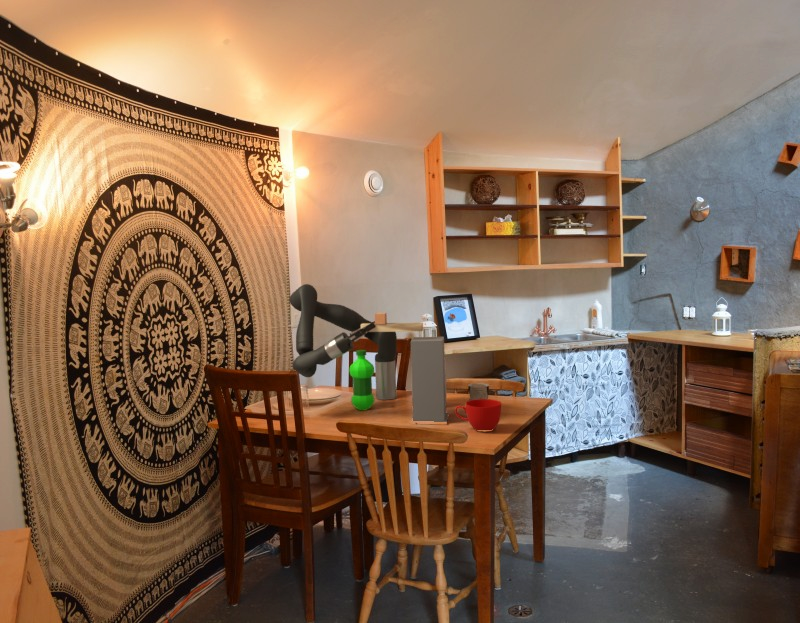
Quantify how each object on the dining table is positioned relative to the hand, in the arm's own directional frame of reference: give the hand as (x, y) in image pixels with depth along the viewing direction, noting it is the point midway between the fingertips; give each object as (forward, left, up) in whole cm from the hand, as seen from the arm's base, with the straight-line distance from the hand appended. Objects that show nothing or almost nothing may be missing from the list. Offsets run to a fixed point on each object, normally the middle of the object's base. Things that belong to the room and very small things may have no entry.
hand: (375, 323), depth 245 cm
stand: (0, +20, -38) cm, 43 cm away
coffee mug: (-19, +39, -38) cm, 58 cm away
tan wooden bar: (0, +7, -3) cm, 7 cm away
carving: (-8, +39, -38) cm, 56 cm away
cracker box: (-23, +18, -38) cm, 49 cm away
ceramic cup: (+14, +39, -38) cm, 57 cm away
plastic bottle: (-18, -10, -38) cm, 44 cm away
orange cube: (0, +2, 0) cm, 2 cm away
